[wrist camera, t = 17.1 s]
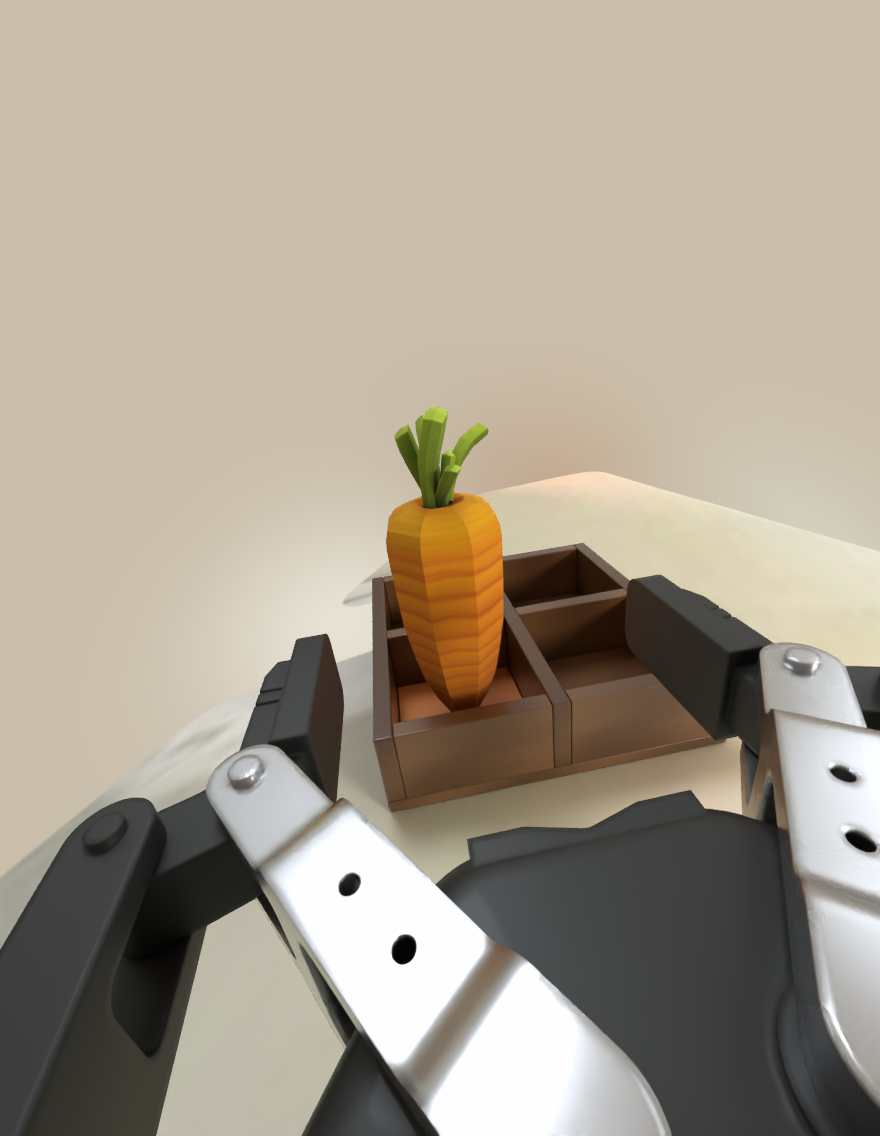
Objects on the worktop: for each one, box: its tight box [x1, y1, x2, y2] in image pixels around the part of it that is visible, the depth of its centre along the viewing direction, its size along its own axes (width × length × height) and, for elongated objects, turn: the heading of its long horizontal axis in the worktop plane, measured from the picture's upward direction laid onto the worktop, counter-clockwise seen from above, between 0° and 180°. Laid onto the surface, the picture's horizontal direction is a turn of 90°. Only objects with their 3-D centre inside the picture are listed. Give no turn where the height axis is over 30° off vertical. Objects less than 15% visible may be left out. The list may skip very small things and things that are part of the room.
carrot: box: [386, 407, 504, 712], centre depth 20 cm, size 5×5×15 cm
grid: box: [372, 543, 726, 812], centre depth 26 cm, size 15×15×4 cm
